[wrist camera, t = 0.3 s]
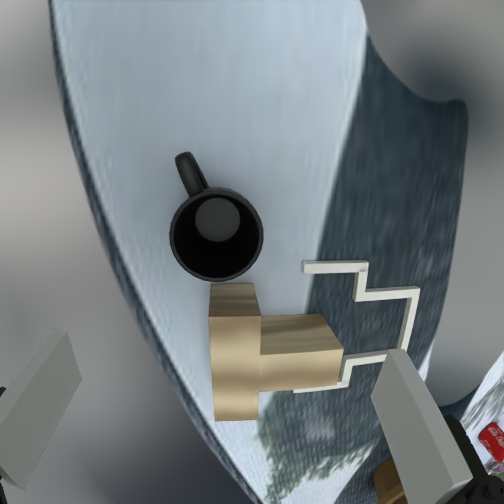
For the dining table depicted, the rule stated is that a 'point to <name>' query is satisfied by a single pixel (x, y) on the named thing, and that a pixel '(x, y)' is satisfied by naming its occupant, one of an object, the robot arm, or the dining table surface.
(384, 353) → the t outline
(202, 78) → the dining table surface
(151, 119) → the dining table surface
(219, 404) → the t block
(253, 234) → the mug
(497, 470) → the lily
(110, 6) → the dining table surface
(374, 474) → the flowerpot
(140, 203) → the dining table surface
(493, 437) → the soda can
